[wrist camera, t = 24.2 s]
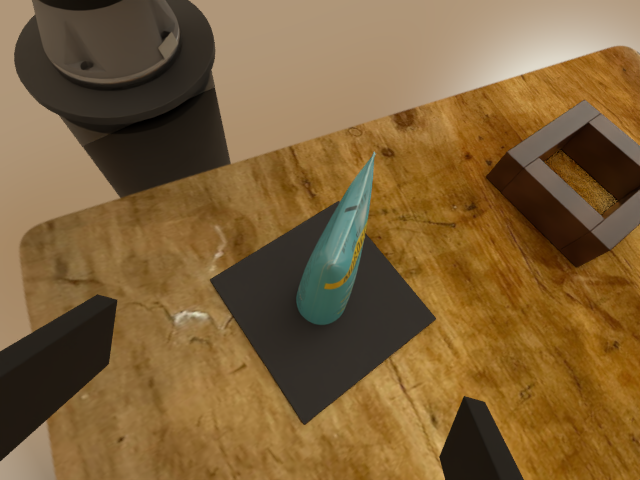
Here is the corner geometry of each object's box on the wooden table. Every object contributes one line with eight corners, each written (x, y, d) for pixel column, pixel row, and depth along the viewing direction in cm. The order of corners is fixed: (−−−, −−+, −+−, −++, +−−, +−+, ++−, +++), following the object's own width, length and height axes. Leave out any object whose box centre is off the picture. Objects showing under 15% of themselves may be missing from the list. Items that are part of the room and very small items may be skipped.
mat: (210, 281, 39) (209, 279, 39) (338, 203, 44) (338, 200, 44) (303, 424, 35) (304, 424, 34) (434, 319, 40) (436, 318, 39)
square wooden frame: (485, 177, 47) (506, 151, 43) (558, 127, 52) (584, 99, 47) (576, 267, 43) (610, 250, 39) (646, 205, 48) (685, 183, 43)
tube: (336, 343, 37) (382, 277, 20) (286, 329, 37) (289, 251, 20) (353, 271, 40) (406, 159, 23) (307, 259, 40) (325, 138, 23)
